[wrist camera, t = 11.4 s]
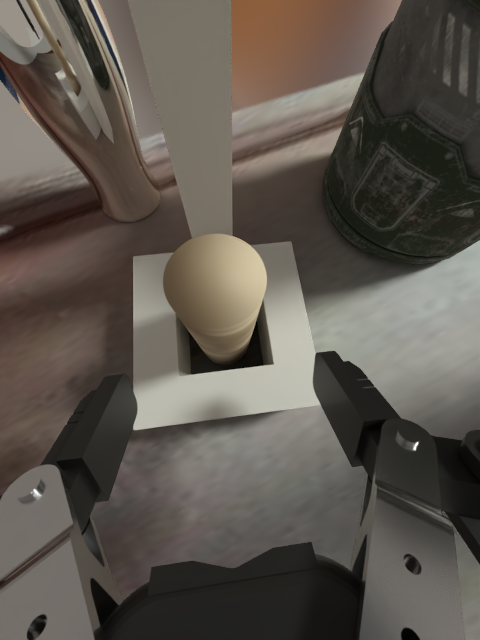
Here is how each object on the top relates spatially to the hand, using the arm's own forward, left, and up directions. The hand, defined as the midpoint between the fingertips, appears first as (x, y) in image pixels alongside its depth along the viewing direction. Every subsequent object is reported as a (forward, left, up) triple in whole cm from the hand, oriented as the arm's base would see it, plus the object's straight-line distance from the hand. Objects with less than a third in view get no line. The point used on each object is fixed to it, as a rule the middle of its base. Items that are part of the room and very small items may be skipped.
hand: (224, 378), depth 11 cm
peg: (-1, -4, -10) cm, 10 cm away
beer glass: (+4, -21, -10) cm, 23 cm away
